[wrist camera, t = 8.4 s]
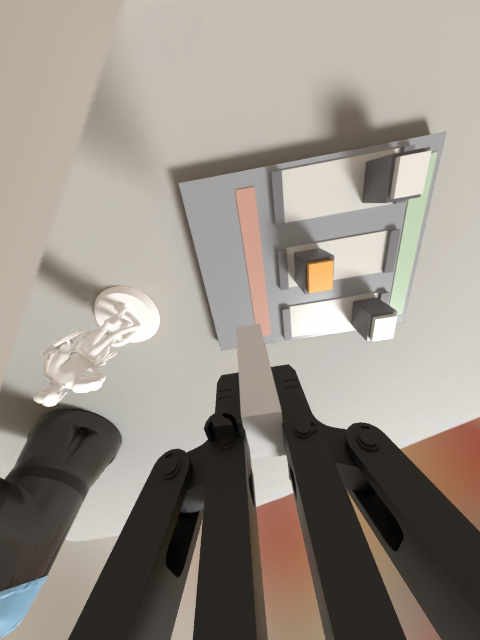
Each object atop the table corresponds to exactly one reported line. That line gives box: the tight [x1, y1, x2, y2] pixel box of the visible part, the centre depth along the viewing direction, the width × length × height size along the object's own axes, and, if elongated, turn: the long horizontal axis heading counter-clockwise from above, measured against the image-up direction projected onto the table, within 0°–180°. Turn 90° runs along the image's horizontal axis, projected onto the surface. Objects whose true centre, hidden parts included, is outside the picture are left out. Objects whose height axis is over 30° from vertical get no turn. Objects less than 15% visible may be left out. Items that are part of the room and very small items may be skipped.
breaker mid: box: [294, 248, 334, 294], centre depth 24 cm, size 3×4×5 cm
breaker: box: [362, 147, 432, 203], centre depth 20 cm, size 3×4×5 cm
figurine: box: [33, 286, 160, 407], centre depth 24 cm, size 9×9×15 cm
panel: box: [179, 132, 446, 351], centre depth 27 cm, size 26×21×2 cm
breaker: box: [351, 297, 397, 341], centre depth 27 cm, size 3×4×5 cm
